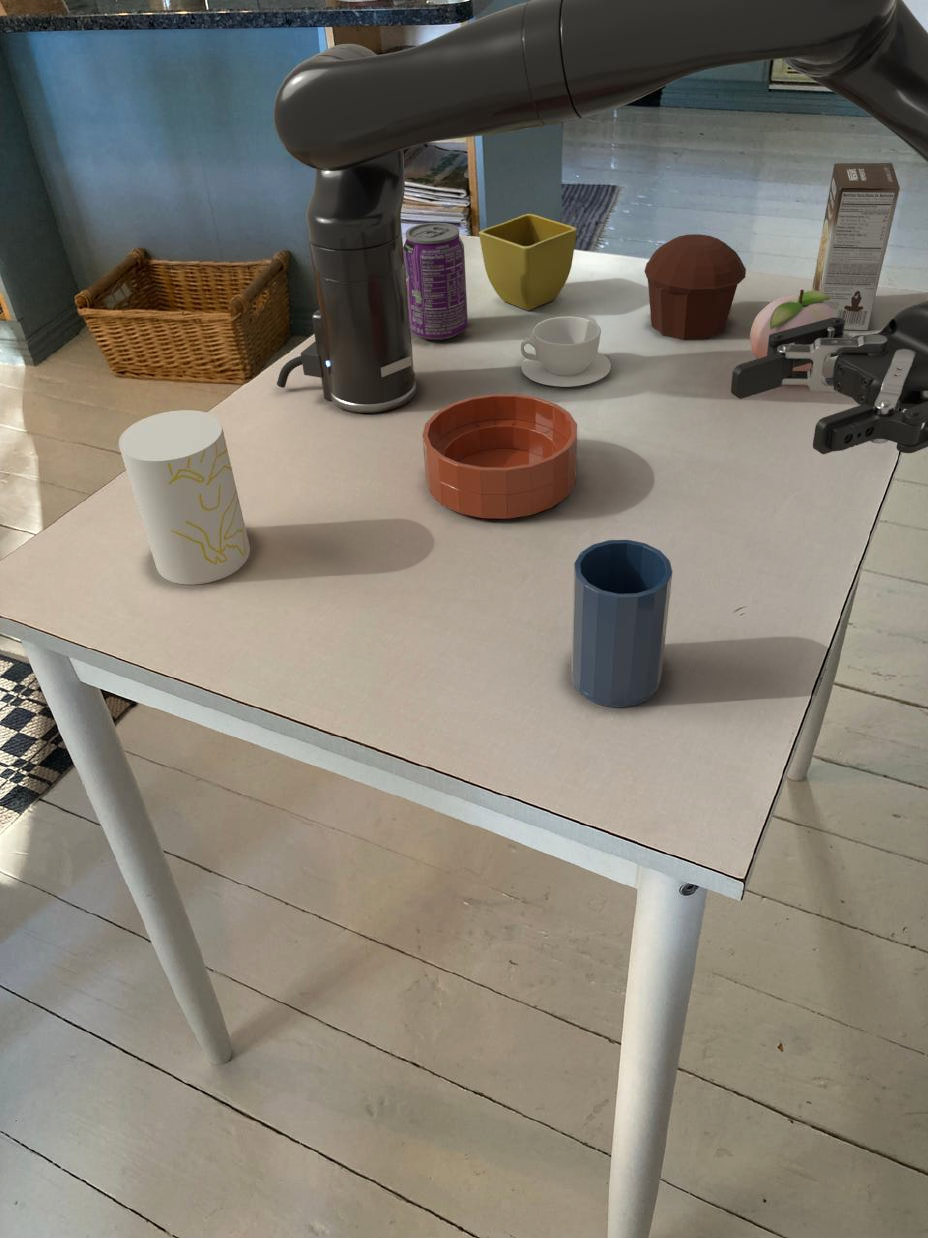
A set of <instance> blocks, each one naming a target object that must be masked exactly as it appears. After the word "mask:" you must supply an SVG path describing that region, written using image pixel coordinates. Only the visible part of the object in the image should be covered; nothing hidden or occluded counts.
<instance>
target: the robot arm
mask: <svg viewBox="0 0 928 1238" xmlns="http://www.w3.org/2000/svg"><path fill="white" fill-rule="evenodd" d="M772 60H774V61H775V60H782V61H783V62H784V63H785V65H787V66H788V67H789V68H790V69H792V70H793V71H795V72H796V73H799V74H802V75H804V76H805V77H807V78H809V79H810V80H812V81H814V82H816V83H817V84H819V85H821V86H823V87H824V88H826V89H828V90H829V91H831V92H833V93H835V94H836V95H838V96H840V97H842V98H843V99H845V100H846V101H848V102H849V103H851V104H853V106H856V107H858V108H859V109H861V110H862V111H864V113H866V114H868V115H869V116H870V117H872V118H873V119H875V120H876V121H877V122H879V123H880V124H881V125H883V126H884V127H885V128H887V130H889V131H891V132H892V133H893V134H894V135H895V136H896V137H898V138H899V139H900V140H902V141H903V142H904V143H905V144H906V145H907V146H908V147H910V148H911V149H912V150H913V151H914V152H915V153H916V154H917V155H918V156H920V157H921V159H923V160H924V161H925V162H926V164H928V30H926V29H925V27H924V26H923V25H922V24H921V23H920V21H919V20H918V19H917V17H916V16H915V15H914V14H913V12H912V11H911V10H910V9H909V7H908V6H907V4H906V3H905V2H904V0H528V1H525V2H522V3H518V4H516V5H515V4H514V5H513V6H510V7H509V6H508V7H507V8H506V7H505V8H503V9H501V10H498V11H495V12H493V13H490V14H487V15H485V16H482V17H480V18H478V19H475V20H473V21H470V22H468V23H466V24H463V25H462V26H459V27H456V28H455V29H453V30H450V31H447V32H445V33H444V34H441V35H439V36H438V37H434V38H433V39H430V40H429V41H427V42H424V43H421V44H419V45H416V46H413V47H410V48H406V49H403V50H399V51H395V52H389V53H384V54H383V53H382V54H376V53H375V52H374V51H373V50H371V49H369V48H367V47H365V46H363V45H360V44H355V43H342V44H337V45H334V46H330V47H329V48H326V49H325V50H322V51H321V52H319V53H317V54H315V55H313V56H311V57H309V58H308V59H305V60H303V61H302V62H300V63H298V64H297V65H296V66H295V67H294V68H292V70H291V71H290V72H289V73H288V74H287V75H286V76H285V78H284V79H283V81H282V83H281V84H280V86H279V87H278V89H277V92H276V95H275V98H274V103H273V108H272V112H273V113H272V117H273V118H272V119H273V120H272V121H273V126H274V127H273V128H274V131H275V133H276V136H277V138H278V140H279V142H280V143H281V145H282V146H283V147H284V149H285V151H287V152H288V153H289V155H291V156H292V157H293V158H294V159H295V160H297V161H299V162H300V163H301V164H303V165H305V166H307V167H310V168H312V169H315V175H314V184H313V188H312V193H311V196H310V197H309V200H308V203H307V206H306V209H305V225H306V231H307V238H308V243H309V244H308V245H309V250H310V257H311V265H312V271H313V277H314V284H315V291H316V298H317V305H318V310H316V311H315V312H314V313H313V314H312V315H311V316H312V318H311V321H312V328H313V334H314V340H315V341H314V342H312V343H311V344H310V345H308V346H307V347H306V348H304V350H302V351H301V352H300V355H299V356H296V357H294V358H292V359H290V360H288V361H287V362H286V363H285V364H283V366H282V368H281V369H280V371H279V375H278V378H277V381H276V385H277V386H278V387H279V388H283V389H284V388H286V386H287V382H288V379H289V376H290V374H291V372H292V371H293V370H294V369H296V368H297V367H300V366H302V371H303V374H304V376H308V377H314V378H320V380H321V386H322V394H323V399H324V400H327V401H332V403H333V404H334V405H336V406H337V407H338V408H341V409H342V410H345V411H349V412H353V413H354V412H355V413H363V414H364V413H366V414H367V413H368V414H369V413H379V412H385V411H389V410H390V411H391V410H394V409H396V408H399V407H402V406H403V405H405V404H407V403H408V402H410V401H411V400H412V399H413V398H414V397H415V395H416V393H417V381H416V380H417V379H416V375H415V373H416V372H415V368H414V367H415V366H414V356H413V355H414V354H413V344H412V332H411V331H410V319H409V308H408V296H407V285H406V273H405V262H404V251H403V247H404V241H403V232H402V231H403V230H402V229H403V228H402V209H403V204H404V197H405V192H406V191H405V188H406V181H405V180H406V177H405V157H404V154H405V153H404V150H407V149H410V148H413V147H418V146H421V145H425V144H429V143H434V142H440V141H447V140H454V139H455V140H456V139H465V138H474V137H482V136H488V135H494V134H495V135H496V134H502V133H508V132H514V131H521V130H522V131H523V130H528V129H535V128H542V127H548V126H553V125H557V124H562V123H568V122H573V121H578V120H582V119H587V118H591V117H595V116H599V115H602V114H605V113H608V112H611V111H615V110H616V109H619V108H622V107H624V106H627V105H629V104H632V103H633V102H635V101H637V100H640V99H642V98H643V97H645V96H647V95H650V94H652V93H653V92H655V91H657V90H660V89H662V88H664V87H666V86H668V85H671V84H672V83H674V82H676V81H678V80H680V79H683V78H686V77H688V76H691V75H693V74H696V73H699V72H704V71H707V70H712V69H717V68H721V67H727V66H728V67H729V66H733V65H741V64H747V63H755V62H763V61H764V62H765V61H772ZM844 326H845V320H844V319H842V318H837V317H834V318H829V319H825V320H821V321H818V322H814V323H810V324H806V325H803V326H799V327H795V328H791V329H788V330H784V331H780V332H776V333H773V334H770V335H769V340H768V349H767V356H765V357H762V358H759V359H756V358H755V359H753V360H750V361H745V362H743V363H739V364H738V365H736V367H734V369H733V370H732V373H731V385H730V393H731V395H733V396H734V397H736V398H737V399H738V400H744V399H746V398H750V397H752V396H755V395H759V394H762V393H766V392H768V391H771V390H774V389H775V390H776V389H777V388H780V387H782V386H783V385H785V386H786V385H787V386H807V387H808V389H809V390H810V391H811V392H814V393H836V394H837V393H838V394H840V395H842V396H843V395H844V396H846V397H849V398H851V399H853V401H854V402H855V403H856V404H857V406H853V407H852V408H847V409H844V410H842V411H839V412H835V413H832V414H830V415H826V416H824V417H821V418H820V419H819V420H817V423H816V424H815V427H814V434H813V441H812V448H813V450H815V451H817V452H818V453H820V454H821V455H827V454H830V453H832V452H841V451H842V452H843V451H845V450H848V449H850V448H853V447H855V446H859V445H863V444H866V443H868V442H870V443H874V444H878V445H879V444H885V443H888V442H893V443H896V447H895V448H896V450H897V451H898V452H900V453H903V454H913V453H917V452H919V451H921V450H924V449H926V448H928V300H926V301H923V302H919V303H916V304H913V305H910V306H906V308H903V309H902V310H900V311H898V313H897V314H895V315H894V316H893V317H892V318H891V319H890V321H888V323H887V324H886V325H885V326H884V327H883V328H882V329H881V330H880V331H879V332H877V333H870V334H868V333H867V334H858V335H854V336H853V335H850V334H849V333H847V332H845V329H844ZM791 343H794V344H791ZM834 357H836V359H835V360H834V364H833V370H832V376H831V377H826V376H824V368H825V367H824V366H825V363H826V362H830V361H831V359H832V358H834ZM809 363H811V368H810V370H808V371H793V368H795V367H798V366H802V365H805V364H809ZM923 424H924V425H923Z"/></svg>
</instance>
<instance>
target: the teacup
mask: <svg viewBox="0 0 928 1238" xmlns="http://www.w3.org/2000/svg"><path fill="white" fill-rule="evenodd" d="M601 333H602V329H601V326H600V325H599V324H598V323H597V322H596V321H593V320H591V319H589V318H584V317H581V316H580V317H579V316H557V317H551V318H547V319H544V320H542V321H540V322H538V323H537V324H536V325H535V326H534V327H533V328H532V337H526V338H524V339H522V340H521V342H520V353H521V354H522V356H523V358H524V359H523V360H522V363H521V366H520V368H521V373H523V375H524V376H525V377H527V378H528V379H529V380H531V381H533V382H536V383H538V384H542V385H546V386H550V387H551V386H552V387H563V388H564V387H579V386H584V385H588V384H593V383H595V382H598V381H600V380H601V379H603V378H605V377H606V376H607V375H608V374H609V373H610V371H611V369H612V363H611V360H609V358H608V357H606V356H605V355H604V354H603V353H600V352H599V351H598V350H599V347H600V346H599V345H600V340H601ZM526 345H530V346H532V347H533V349H534V352H533V353H529V352H527V351H526V350H525V346H526Z"/></svg>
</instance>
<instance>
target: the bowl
mask: <svg viewBox="0 0 928 1238" xmlns="http://www.w3.org/2000/svg"><path fill="white" fill-rule="evenodd" d="M421 437H422V448H423V461H424V471H425V481H426V485H427V488H428V491H429V494H430V496H431V497H433V498H434V499H435V500H436V501H437V502H438V503H439V504H440V505H441V506H443V507H446V508H448V509H449V510H452V511H454V512H456V513H458V514H460V515H464V516H465V515H466V516H471V517H474V518H475V517H476V518H479V519H505V520H507V519H514V518H522V517H526V516H532V515H535V514H537V513H540V512H543V511H546V510H548V509H551V508H553V507H554V506H556V505H557V504H559V503H560V502H561V501H563V500H564V499H566V498H567V497H568V496H569V495H570V493H571V492H572V490H573V489H574V487H575V486H576V483H577V481H576V480H577V453H578V450H577V449H578V424H577V422H576V420H575V419H574V417H573V415H572V414H571V413H570V412H569V411H567V410H566V409H564V408H563V407H562V406H560V405H559V404H557V403H554V402H551V401H549V400H546V399H544V398H541V397H538V396H531V395H526V394H525V395H524V394H518V393H492V394H485V395H479V396H471V397H468V398H465V399H461V400H459V401H456V402H452V403H450V404H448V405H446V406H445V407H442V408H441V409H439V410H438V411H436V412H435V413H433V415H432V416H431V417H430V418H429V419H428V420H427V421H426V422H425V424H424V428H423V431H422V436H421Z"/></svg>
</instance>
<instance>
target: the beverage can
mask: <svg viewBox="0 0 928 1238" xmlns="http://www.w3.org/2000/svg"><path fill="white" fill-rule="evenodd" d="M403 251H404V262H405V273H406V285H407V296H408V308H409V319H410V331H411V334H413V335H415V336H418V337H420V338H422V339H425V340H429V341H445V340H449V339H451V338H454V337H456V336H457V335H459V334H462V333H463V332H464V331H466V329H468V326H469V323H468V322H469V320H468V319H469V318H468V302H467V301H468V299H467V279H466V278H467V277H466V257H465V255H466V254H465V244H464V242H463V241H462V238H461V237H460V228H459V227H458V226H456V225H454V224H452V223H447V222H425V223H420V224H417V225H414V226H411V227H409V228H408V229H406V231H405V242H404V243H403Z"/></svg>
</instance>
